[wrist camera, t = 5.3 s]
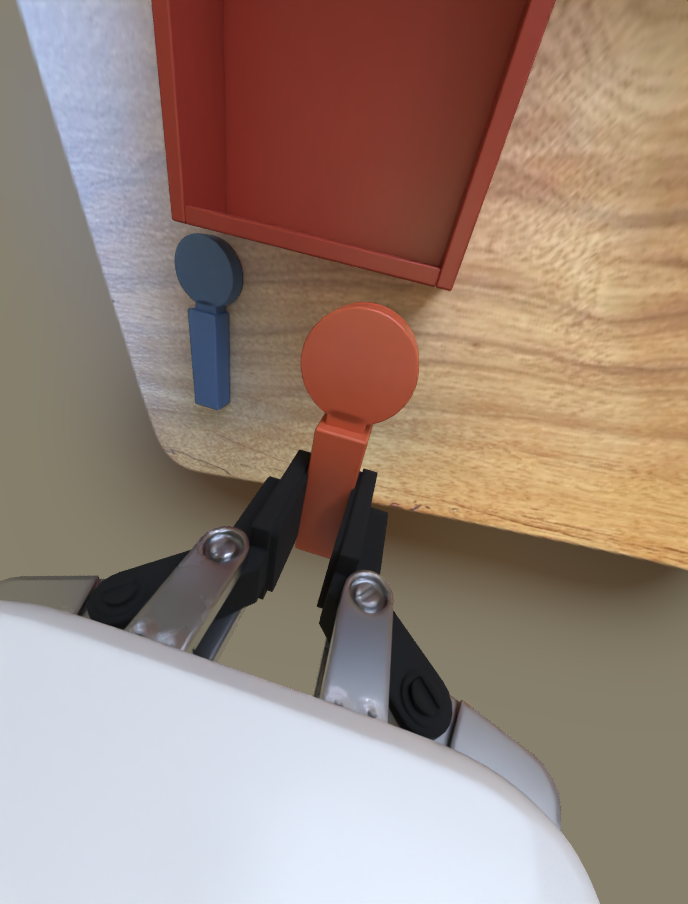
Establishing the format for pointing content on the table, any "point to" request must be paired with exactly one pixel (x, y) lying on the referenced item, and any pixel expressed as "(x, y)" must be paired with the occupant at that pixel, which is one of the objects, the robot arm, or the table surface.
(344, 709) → the robot arm
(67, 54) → the table surface
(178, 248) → the blue spoon
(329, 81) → the red bin
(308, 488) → the red spoon
